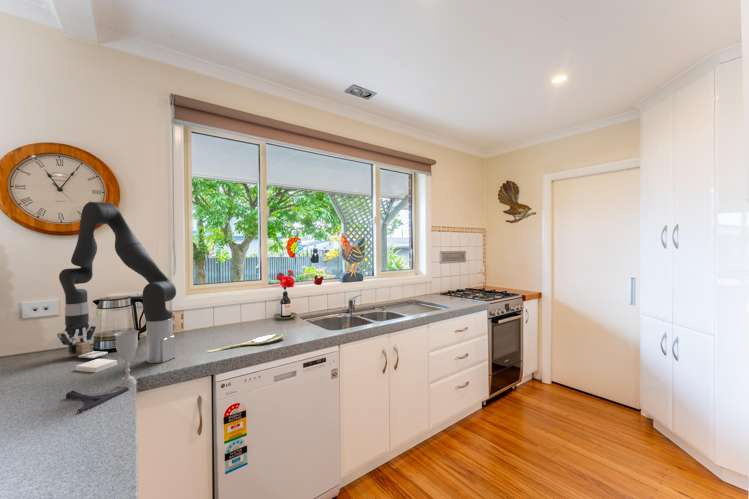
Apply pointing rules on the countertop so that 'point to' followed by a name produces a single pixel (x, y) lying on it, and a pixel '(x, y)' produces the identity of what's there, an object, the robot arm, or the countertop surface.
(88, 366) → the tile
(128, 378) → the chalice
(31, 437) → the countertop surface
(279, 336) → the spoon
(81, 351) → the turner
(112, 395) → the bracket
